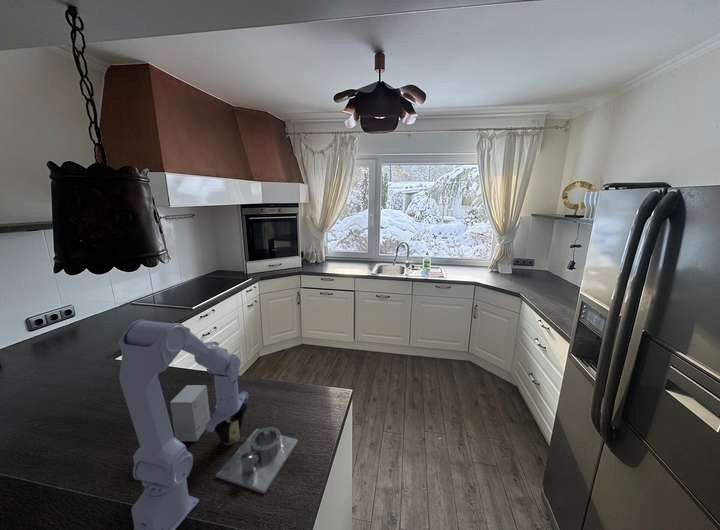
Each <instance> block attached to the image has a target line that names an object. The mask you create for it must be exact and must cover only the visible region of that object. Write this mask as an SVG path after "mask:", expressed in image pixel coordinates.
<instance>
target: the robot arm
mask: <svg viewBox="0 0 720 530" xmlns="http://www.w3.org/2000/svg"><path fill="white" fill-rule="evenodd" d="M219 344H220V343H219V342H217V341H213V340H212V341H207V342H204V341H203V340H202V339H201V338H199V337H198V336H196V335H195V333H193V332H191V328H189V327H187V326H185V325H184V324H182V323H179V322H174V323H169V322H161V321H160V322H159V321H153V320H152V321H151V320H147V319H137V320H135V321H133V322H131V323H130V324H129V325H128V326H127V327H126V328H125V330H124V332H123V333H122V335H121V336H120V337H119V340H118V345H119V348H120V351H121V361H120V368H119V369H120V370H119V376H118V378H119V383H120V386H121V389H122V394H123V395H124V399H125V402H126V405H127V408H128V411H129V415H130V419H131V421H132V423H133V427H134V431H135V434H136V437H137V440H138V444H139V446H140V447H139V448H138V449H136V451H135V453H134V454H133V456H132V459H133V468H132V476H133V478H134V480H137V481H141V484H142V485H141V486H143V487H144V490H143V492H142V494H141V495H140V497H139V498H138V500H137V501H136V502H135V503H134V504H133V505H132V507H131V515H132V516H131V517H132V521H133V527H134V529H133V530H176V529H177V528H178V527H179V526H180V525H181V524H182V522H183V521H184V520H185V519H186V517H188V515H189V514H191V513H190V512H192V510H193V509H194V508H195V507H196V506H197V505H198V504H199V501H200V499H199V498H197V497H194V496H191V495H190V494H189V489H188V482H187V478H188V477H189V476H190V474H191V471H192V467H193V463H194V457H193V454H192V452H189V451H188V450H187V447H186V445H185V444H184V443H183V441H179V440H178V439H176V438H175V434H174V430H173V427H172V425H171V421H170V417H169V413H168V409H167V404H166V401H165V398H164V394H163V391H162V387H161V382H160V380H159V374H160V373H163V372H165V371H166V370H167V369H168V367H169V366H170V365H171V363H173V361H174V360H175V359H176V358H177V356H178V355H179V354H180V353H181V351H184V352H186V353H188V354H191V355H192V356H194V361H195V363H196V364H197V365H200V366H202V367H204V368H205V369H207V372H208V374H213V379H214V387H215V388H214V389H215V398H216V405H215V406H214V407H215V411H214V413H213V414H212V416H210V420H209V422H208V423H207V424H206V429H205V431H207V432H209V433H213V432H216V434H217V436H218V438H219V439H220V440H219V441H220V442H221V443H223V442H224V443H228V442H229V428H230V425H231V423H229V422H226V420H225V419H227V418H229V417H231V416H236V417H238V423H239V431H240V430H241V429H242V424H243V419H244V416H245V413H246V411H247V410H248V405H247V403H244V402H245V401H248V399H249V392H246V391H241V392H239V384H238V378H239V375H240V368H241V364H242V363H241V361H242V359H240V358H239V356H238V355H237V354H233V353H229V352H228V349H226V348H222V347H221V346H219ZM224 443H223V444H224Z"/></svg>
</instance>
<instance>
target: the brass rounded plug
mask: <svg viewBox="0 0 720 530" xmlns="http://www.w3.org/2000/svg"><path fill="white" fill-rule="evenodd" d="M225 420H226V422H229V423H231V425H230V428H229V442H228V443H224V442H222V443H223V444H224V445H225V446H231V445H234V444H236V443H238V442H239V440H240V436H241V435H240V430H239V423H238V417H236V416H231V417H229V418H227V419H225Z"/></svg>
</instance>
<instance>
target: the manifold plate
mask: <svg viewBox="0 0 720 530" xmlns="http://www.w3.org/2000/svg"><path fill="white" fill-rule="evenodd" d="M298 442H299V439H296V438H293V437H290V436H286V435H282V432H281V431H280V430H279V428H277V427H274V426H268V427H262V428H255V430H253V432H252V433H251V434H250V435H249V437H248V438H246V439H245V441H244V442H243V444H241V446H240V447H239V448H238V449H237V450H236V451H235V453H234V454H233V455H232V456H231V457H230V458H229V459H228V460H227V462H225V464H224V465H223V466H222V467H221V469H220V470H219V471H218V472H217V473H216V475H215V476H216V478H218V479H221V480H223V481H226V482H229V483H232V484H235V485H239V486H241V487H244V488H246V489H249V490H252V491H255V492H258V493H260V494H266V492H267V490H268V488H269V487H270V486H271V485H272V483H273V481H274V480H275V478H276V476H277V475H278V473H279V472H280V470H281V468H282V467H283V466H284V464H285V463H286V461H287V459H288V458H289V456H290V455H291V453H292V452H293V450H294V449H295V448H296V445H297V444H298Z"/></svg>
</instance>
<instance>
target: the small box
mask: <svg viewBox="0 0 720 530" xmlns="http://www.w3.org/2000/svg"><path fill="white" fill-rule="evenodd" d="M169 404H170V411H171V417H172V418H171V419H172V425H173V433H174V437H175V438H176V439H178V440H179V441H180V442H198V440H199V439H200V438H201V436H202V435H203V433H204V432H205V431H206V424H207V423H208V422H209V420H210V419H211V414H210V412H211V411H210V406H209V395H208V386H207V385H206V384H204V385H202V384H201V385H200V384H192V385H191V384H189V385H188V384H187V385H185V387H183V388H182V389H181V391H179V393H178V394H176V396H174V397H173V398H172V399H171V401H170V403H169Z"/></svg>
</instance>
